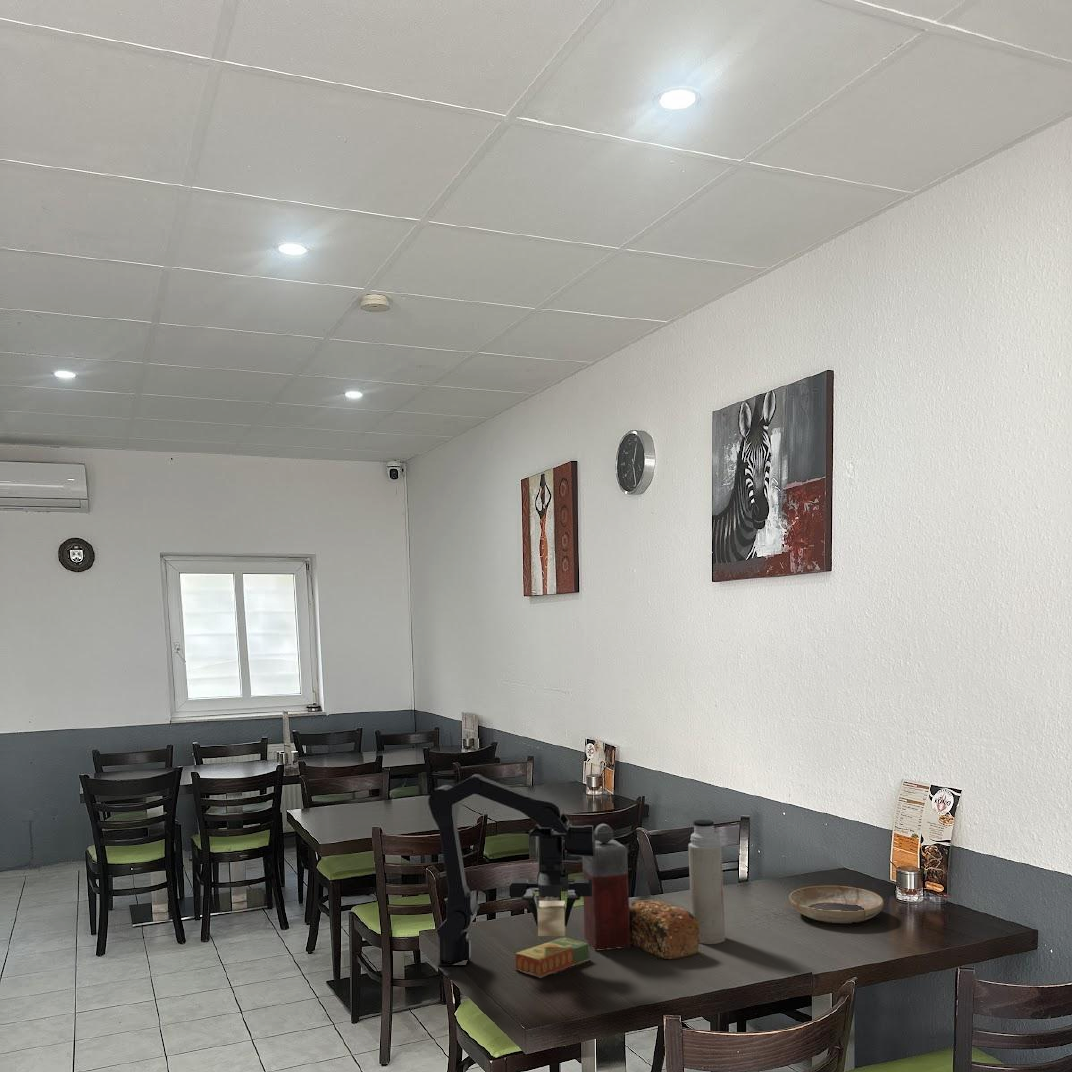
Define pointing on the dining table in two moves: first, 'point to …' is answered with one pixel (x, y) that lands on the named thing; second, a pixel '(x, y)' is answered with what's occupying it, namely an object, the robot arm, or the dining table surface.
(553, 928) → the beech cube
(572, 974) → the dining table surface
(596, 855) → the red sauce bottle
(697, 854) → the thermos bottle
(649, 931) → the bread
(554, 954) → the carton
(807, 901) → the ceramic bowl
